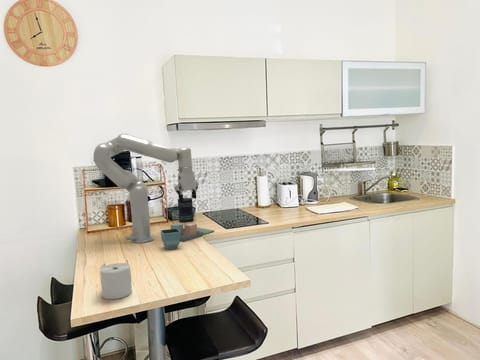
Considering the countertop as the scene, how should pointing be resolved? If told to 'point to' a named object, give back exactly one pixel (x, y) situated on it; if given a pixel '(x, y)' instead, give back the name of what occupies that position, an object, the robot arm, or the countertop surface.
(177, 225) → the plain box
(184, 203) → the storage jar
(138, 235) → the robot arm
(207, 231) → the mat
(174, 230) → the flower pot
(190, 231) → the labelled box
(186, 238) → the parts tray
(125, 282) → the toilet tissue
